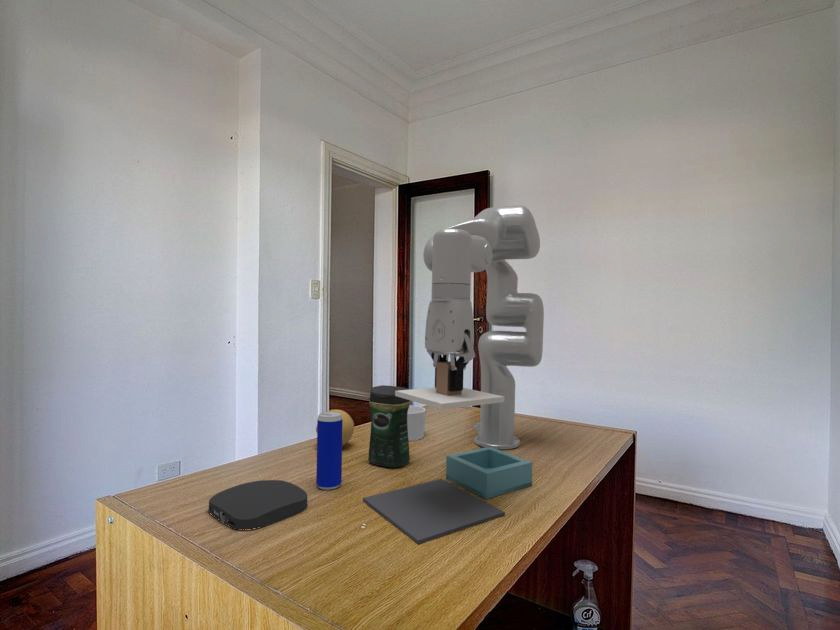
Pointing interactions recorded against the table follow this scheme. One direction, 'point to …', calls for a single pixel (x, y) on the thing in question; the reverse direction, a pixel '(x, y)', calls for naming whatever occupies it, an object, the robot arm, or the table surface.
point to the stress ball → (345, 426)
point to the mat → (432, 509)
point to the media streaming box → (257, 503)
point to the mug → (416, 422)
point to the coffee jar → (388, 427)
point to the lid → (447, 393)
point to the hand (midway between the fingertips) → (448, 388)
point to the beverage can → (329, 450)
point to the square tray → (489, 471)
